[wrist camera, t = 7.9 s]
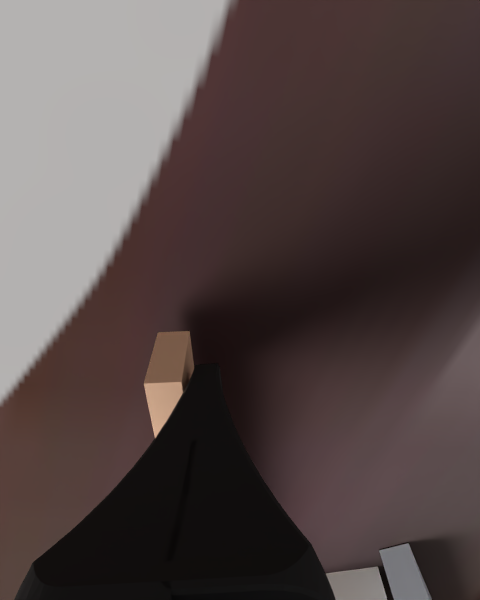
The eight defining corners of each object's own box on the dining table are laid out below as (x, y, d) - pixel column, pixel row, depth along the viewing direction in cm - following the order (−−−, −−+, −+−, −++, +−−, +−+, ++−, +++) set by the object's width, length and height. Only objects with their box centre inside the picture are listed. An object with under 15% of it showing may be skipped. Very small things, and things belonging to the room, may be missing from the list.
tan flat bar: (226, 587, 22) (225, 677, 19) (200, 588, 22) (195, 678, 19) (197, 322, 13) (186, 403, 10) (154, 324, 13) (129, 405, 10)
